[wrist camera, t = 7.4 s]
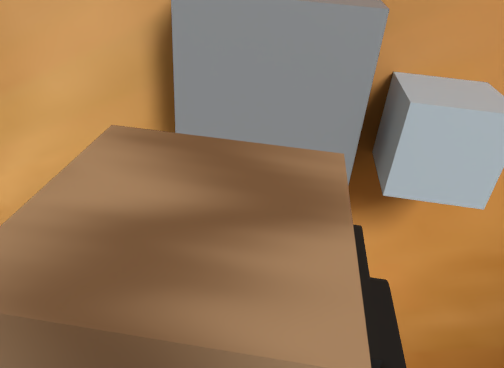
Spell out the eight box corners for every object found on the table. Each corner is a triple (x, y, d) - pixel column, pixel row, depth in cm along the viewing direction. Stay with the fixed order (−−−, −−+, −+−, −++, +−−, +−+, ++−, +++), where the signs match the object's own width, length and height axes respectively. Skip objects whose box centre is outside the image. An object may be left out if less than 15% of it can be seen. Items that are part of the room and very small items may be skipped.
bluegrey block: (486, 82, 22) (527, 116, 18) (455, 162, 24) (483, 209, 20) (393, 71, 22) (410, 102, 18) (372, 151, 25) (383, 195, 21)
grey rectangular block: (380, 0, 20) (389, 9, 18) (343, 170, 26) (345, 196, 23) (188, -18, 21) (170, -12, 19) (190, 150, 27) (176, 173, 24)
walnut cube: (344, 153, 10) (372, 375, 5) (309, 316, 13) (304, 554, 8) (111, 124, 10) (-81, 299, 5) (131, 289, 14) (22, 496, 9)
